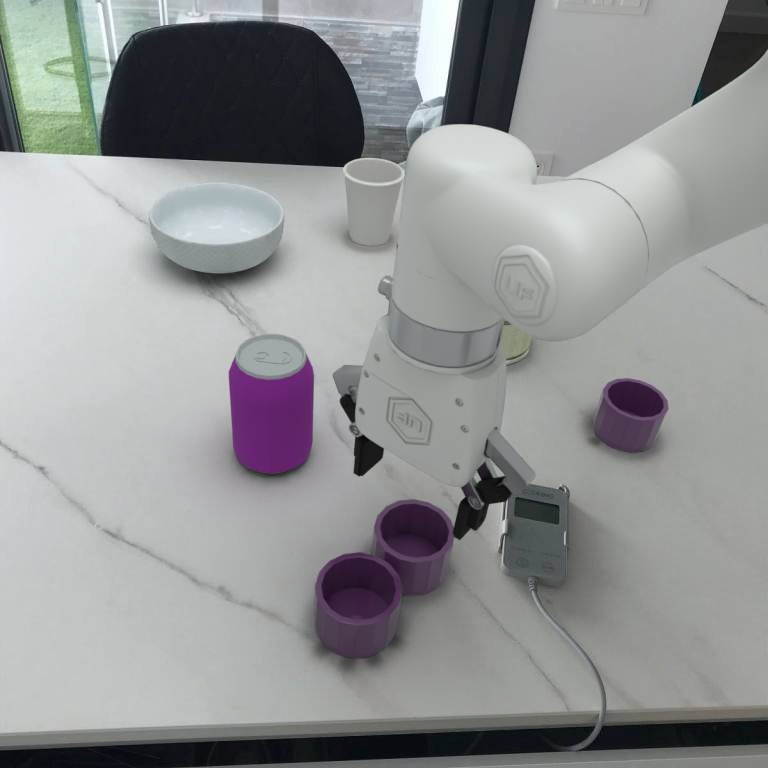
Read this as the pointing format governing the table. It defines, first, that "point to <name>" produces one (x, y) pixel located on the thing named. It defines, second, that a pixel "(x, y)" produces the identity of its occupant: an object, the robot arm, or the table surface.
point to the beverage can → (271, 403)
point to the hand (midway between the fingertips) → (415, 495)
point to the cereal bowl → (217, 226)
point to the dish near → (357, 604)
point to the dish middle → (414, 543)
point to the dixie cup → (371, 198)
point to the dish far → (630, 414)
